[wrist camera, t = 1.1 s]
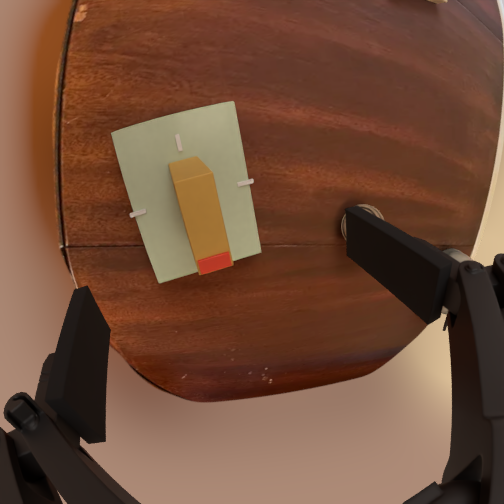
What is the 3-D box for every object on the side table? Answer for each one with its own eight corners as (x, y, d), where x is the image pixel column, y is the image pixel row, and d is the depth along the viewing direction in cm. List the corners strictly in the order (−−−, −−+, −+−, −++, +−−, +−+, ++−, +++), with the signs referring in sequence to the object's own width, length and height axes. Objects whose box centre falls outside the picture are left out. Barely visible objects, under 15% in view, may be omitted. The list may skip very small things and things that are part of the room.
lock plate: (111, 132, 23) (106, 134, 20) (229, 101, 25) (238, 100, 22) (154, 269, 30) (155, 286, 27) (255, 239, 32) (265, 252, 29)
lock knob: (168, 163, 23) (173, 183, 17) (197, 155, 24) (213, 172, 17) (187, 235, 26) (200, 278, 20) (214, 228, 27) (234, 267, 20)
